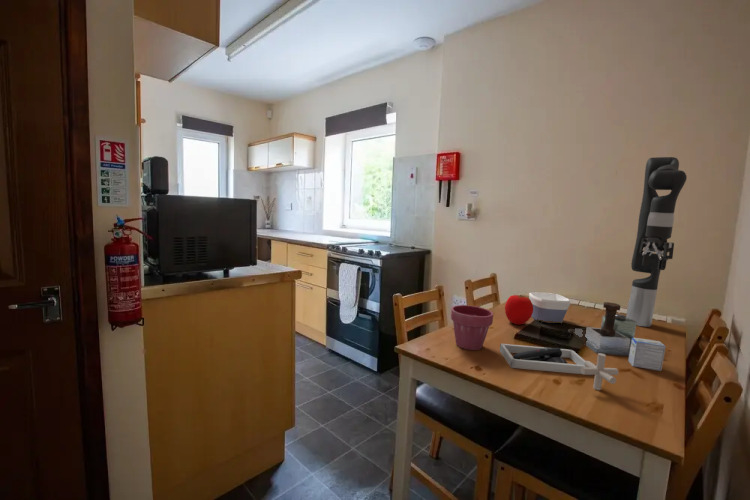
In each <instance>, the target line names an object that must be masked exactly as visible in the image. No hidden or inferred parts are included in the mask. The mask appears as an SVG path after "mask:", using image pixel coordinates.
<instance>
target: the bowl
mask: <svg viewBox="0 0 750 500" xmlns="http://www.w3.org/2000/svg"><path fill="white" fill-rule="evenodd" d="M528 297H529V299H530V300H531V302H532V304H533V314H532V316H531V318H532V319H534V320H535V321H537V319H538V320H543V321H553V322H561V324H562V323H563V321H564V319H565V316H566V314H567V311H568V310H569V307H570V305H571V301H570V299H569V298H567V297H565V296H563V295H560V294H557V293H551V292H539V291H537V292H536V291H532V292H529V294H528Z"/></svg>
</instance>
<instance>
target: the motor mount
mask: <svg viewBox="0 0 750 500" xmlns="http://www.w3.org/2000/svg"><path fill="white" fill-rule="evenodd" d="M604 321H605V314H604V315H602V318H601V325H600V327H592V326H591V327H589V326H587V327H586V334H585V337H586V338H587V341H586V345H585V346H586V347H588V348H589V349H590V350H591V351H592V352H594V353H595V354H598V353H602V354H605V355H612V356H613V355H615V356H625V357H627V356H628V357H629V353H630V347H631V341H632V338H635V334H636V330H637V329H636V328H637V325H636V323H637V322H636V321H634V320H631V319H629V318H626V315H623V314H619V313H616V317H615V323H614V330H615V336H613V337H610V336H602V333H601V328H602V327H604ZM574 328H575V327H574ZM582 329H583V328H575V332H574V333H575V334H576V335H578V336H579V337H582V336H583V334H582V332H583V330H582Z"/></svg>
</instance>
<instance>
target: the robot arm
mask: <svg viewBox="0 0 750 500" xmlns="http://www.w3.org/2000/svg"><path fill="white" fill-rule="evenodd" d="M679 167H680V162H679V159H678V158H677V157H674V156H662V157H661V156H659V157H650V158H648V160H647V161H646V164H645V171H644V179H643V180H644V183H643V190H642V191H643V194H642V199H641V203H640V208H639V209H640V211H639V214H638V215H639V216H638V225H637V232H636V233H637V234H636V240H635V245H634V248H633V253H632V258H631V263H630V264H631V270H632V271H633V272H637V273H645V274H650V275H649V276H647V277H642V278H637V279H636V278H635V279H633V281H632V283H631V290H630V297H629V300H628V303H627V307H626V315H625V316H626V318H629V319H631V320H634V321H636V322H637V323H636V326H638V327H645V328H650V327H652V323H653V318H654V310H655V305H656V298H657V292H658V286H659V279H660V274H661V271H664V270H666V266H667V262H668V260H673V257H674V249H675V243H674V242H668V239H671V238H672V234H673V227H674V222H675V221H674V220H675V209H676V205H677V204H676V203H677V200H678V197H679V195H680V193H681V191H682V189H683V187H684V185H685V183H686V182H687V178H688V177H687V173H686V172H685V171H684V170H680V169H679ZM657 191H670V192H669V193H667V194H666V195H661V196H659V194H658V192H657Z"/></svg>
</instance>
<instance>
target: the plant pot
mask: <svg viewBox="0 0 750 500" xmlns="http://www.w3.org/2000/svg"><path fill="white" fill-rule="evenodd" d="M450 319H451V320H452V323H453V332H454V333H453V334H454V339H455V344H456V346H458V347H460V348H462V349H465V350H468V351H469V350H470V351H479V350H481V349H482V348H483V346H484V343H485V340H486V337H487V334H488V332H489V328H490V326H492V325H493V322H494V321H493V320H494V313H493V311H491V310H490V309H487V308H484V307H481V306H480V307H479V306H476V305H470V304H469V305H467V304H460V305H459V304H458V305H454V306H452V307H451V312H450Z"/></svg>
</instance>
